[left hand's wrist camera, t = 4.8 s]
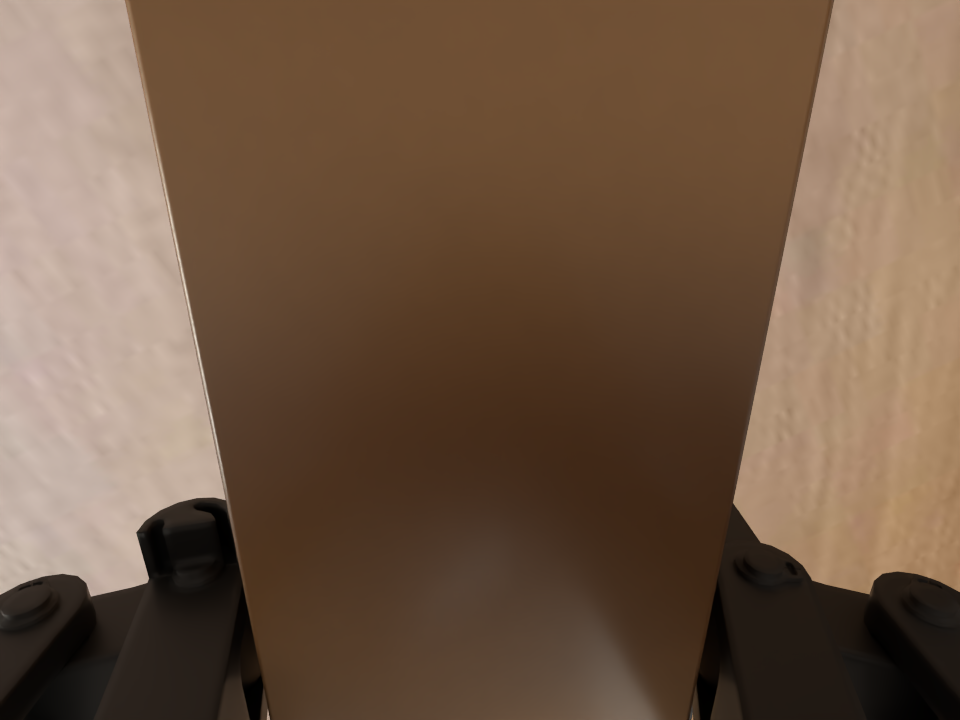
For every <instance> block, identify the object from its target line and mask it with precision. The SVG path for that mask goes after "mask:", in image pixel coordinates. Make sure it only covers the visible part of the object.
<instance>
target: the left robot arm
mask: <svg viewBox="0 0 960 720" xmlns="http://www.w3.org/2000/svg"><path fill="white" fill-rule="evenodd" d="M137 537H138V540H139V544H140V547H141V551H142V554H143V558H144V561H145V565H146V569H147V572H148V576H149V581H148V583H146V584H143V585H139V586H136V587H132V588H128V589H123V590H119V591H115V592H110V593H106V594H101V595H97V596H92V597H91V596H90V593H89V590H88V587H87V584H86V583H85V582H84V581H83V580H82V579H80V578H79V577H78V576H73V575H66V574H59V575H52V576H45V577H41V578H38V579H34V580H32V581H28V582H26V583H23V584H20V585H18V586H16V587H15V588H13V589H11V590H9V591H7V592H5V593H3V594H1V595H0V720H267V710H268V706H267V701H266V696H265V691H264V686H263V681H262V676H261V671H260V666H259V662H258V657H257V652H256V647H255V642H254V637H253V632H252V627H251V622H250V617H249V612H248V607H247V602H246V597H245V592H244V587H243V582H242V577H241V572H240V567H239V562H238V557H237V552H236V548H235V543H234V538H233V533H232V528H231V523H230V518H229V513H228V508H227V503H226V500H222V499H218V498H196V499H192V500H187V501H183V502H179V503H176V504H174V505H172V506H170V507H167V508H165V509H163V510H160V511H159V512H158V513H156V514H155V515H153V516H152V517H150V518H149V519H148V520H146V521H145V522H144V524H143V525H142V526H141V527H140V529H139V530H138V531H137ZM692 714H693V719H694V720H960V592H958V591H956V590H954V589H952V588H951V587H949V586H947V585H945V584H943V583H941V582H939V581H936V580H933V579H931V578H927V577H924V576H921V575H918V574H912V573H904V572H892V573H885V574H882V575H881V576H879V577H878V578H877V579H876V580H875V581H874V583H873V586H872V589H871V592H870V595H869V594H865V593H860V592H856V591H851V590H847V589H842V588H838V587H833V586H829V585H825V584H822V583H818V582H815V581H812V580H811V577H810V576H809V574H808V573H807V571H806V570H805V568H804V567H803V566H802V565H801V564H800V563H799V562H798V561H796V560H795V559H794V558H793V557H791V556H790V555H789V554H787V553H785V552H783V551H781V550H779V549H777V548H775V547H773V546H770V545H767V544H763V543H760V541H759V540H758V538H757V537H756V536H755V534H754V533H753V531H752V530H751V528H750V527H749V525H748V524H747V523H746V521H745V520H744V518H743V517H742V515H741V514H740V512H739V511H738V510H737V508H736V507H735V505H734V504H732V509H731V514H730V519H729V524H728V529H727V534H726V539H725V544H724V549H723V554H722V559H721V564H720V569H719V574H718V579H717V584H716V589H715V594H714V599H713V604H712V609H711V614H710V619H709V624H708V628H707V633H706V638H705V643H704V648H703V653H702V658H701V663H700V668H699V673H698V678H697V683H696V688H695V693H694V698H693V703H692V708H691V713H690V718H689V720H691V718H692Z"/></svg>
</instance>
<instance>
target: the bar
mask: <svg viewBox="0 0 960 720" xmlns="http://www.w3.org/2000/svg"><path fill="white" fill-rule="evenodd" d="M125 2H126V7H127V12H128V17H129V22H130V27H131V32H132V37H133V42H134V47H135V52H136V57H137V62H138V67H139V72H140V77H141V82H142V87H143V91H144V96H145V101H146V106H147V111H148V116H149V121H150V126H151V131H152V136H153V141H154V146H155V151H156V156H157V161H158V166H159V171H160V176H161V181H162V186H163V191H164V196H165V201H166V205H167V210H168V215H169V220H170V225H171V230H172V235H173V240H174V245H175V250H176V255H177V260H178V265H179V270H180V275H181V280H182V285H183V290H184V295H185V300H186V305H187V310H188V315H189V320H190V324H191V329H192V334H193V339H194V344H195V349H196V354H197V359H198V364H199V369H200V374H201V379H202V384H203V389H204V394H205V399H206V404H207V409H208V414H209V419H210V424H211V429H212V434H213V438H214V443H215V448H216V453H217V458H218V463H219V468H220V473H221V478H222V483H223V488H224V493H225V498H226V503H227V508H228V513H229V518H230V523H231V528H232V533H233V538H234V543H235V548H236V552H237V557H238V562H239V567H240V572H241V577H242V582H243V587H244V592H245V597H246V602H247V607H248V612H249V617H250V622H251V627H252V632H253V637H254V642H255V647H256V652H257V657H258V662H259V666H260V671H261V676H262V681H263V686H264V691H265V696H266V701H267V706H268V711H269V716H270V720H689V718H690V713H691V708H692V703H693V698H694V693H695V688H696V683H697V678H698V673H699V668H700V663H701V658H702V653H703V648H704V643H705V638H706V633H707V628H708V624H709V619H710V614H711V609H712V604H713V599H714V594H715V589H716V584H717V579H718V574H719V569H720V564H721V559H722V554H723V549H724V544H725V539H726V534H727V529H728V524H729V519H730V514H731V509H732V504H733V499H734V494H735V489H736V484H737V479H738V475H739V470H740V465H741V460H742V455H743V450H744V445H745V440H746V435H747V430H748V425H749V420H750V415H751V410H752V405H753V400H754V395H755V390H756V385H757V380H758V375H759V370H760V365H761V360H762V355H763V350H764V345H765V340H766V335H767V331H768V326H769V321H770V316H771V311H772V306H773V301H774V296H775V291H776V286H777V281H778V276H779V271H780V266H781V261H782V256H783V251H784V246H785V241H786V236H787V231H788V226H789V221H790V216H791V211H792V206H793V201H794V196H795V191H796V187H797V182H798V177H799V172H800V167H801V162H802V157H803V152H804V147H805V142H806V137H807V132H808V127H809V122H810V117H811V112H812V107H813V102H814V97H815V92H816V87H817V82H818V77H819V72H820V67H821V62H822V57H823V52H824V47H825V42H826V38H827V33H828V28H829V23H830V18H831V13H832V8H833V3H834V0H125Z"/></svg>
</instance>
